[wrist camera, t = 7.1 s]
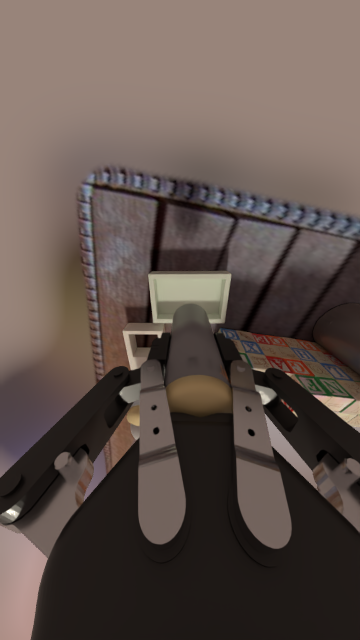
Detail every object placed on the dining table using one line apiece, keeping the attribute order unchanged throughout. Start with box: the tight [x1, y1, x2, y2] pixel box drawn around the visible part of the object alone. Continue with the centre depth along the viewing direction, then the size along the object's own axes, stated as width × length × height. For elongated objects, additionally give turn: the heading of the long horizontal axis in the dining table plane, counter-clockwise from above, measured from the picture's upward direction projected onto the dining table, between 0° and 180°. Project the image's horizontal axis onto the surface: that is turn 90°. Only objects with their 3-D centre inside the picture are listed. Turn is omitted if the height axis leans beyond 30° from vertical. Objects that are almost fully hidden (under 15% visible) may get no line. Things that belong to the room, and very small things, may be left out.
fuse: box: [127, 400, 140, 426], centre depth 29 cm, size 4×4×11 cm
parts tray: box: [148, 271, 231, 323], centre depth 24 cm, size 12×8×3 cm, turn 91°
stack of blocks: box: [218, 328, 360, 427], centre depth 25 cm, size 21×6×12 cm, turn 81°
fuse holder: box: [123, 323, 165, 370], centre depth 31 cm, size 7×15×3 cm, turn 1°
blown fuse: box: [164, 304, 232, 417], centre depth 12 cm, size 4×4×11 cm
